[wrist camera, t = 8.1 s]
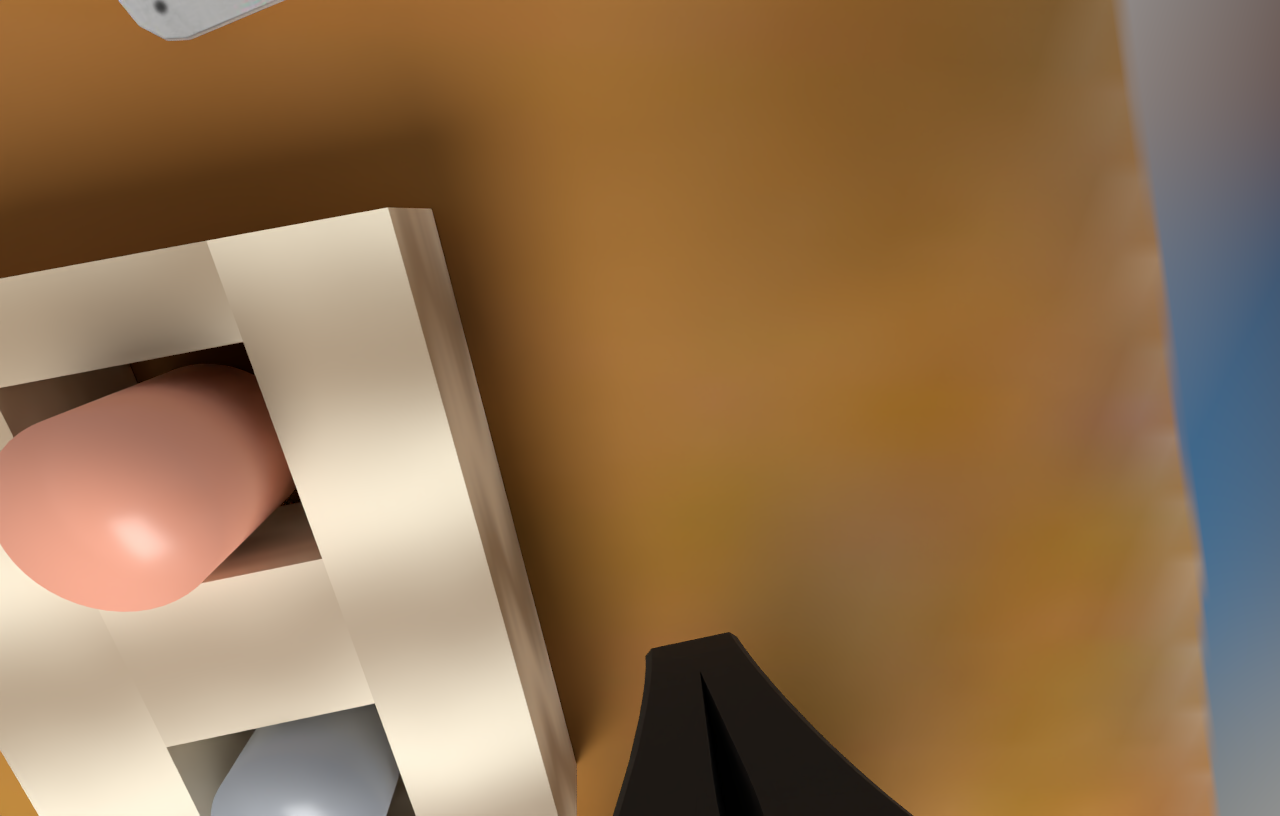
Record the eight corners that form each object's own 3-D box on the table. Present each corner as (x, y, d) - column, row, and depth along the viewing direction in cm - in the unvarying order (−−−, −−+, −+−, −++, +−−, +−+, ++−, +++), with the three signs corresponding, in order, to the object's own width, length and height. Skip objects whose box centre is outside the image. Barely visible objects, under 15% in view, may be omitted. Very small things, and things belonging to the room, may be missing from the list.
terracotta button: (328, 502, 17) (254, 588, 13) (169, 533, 16) (45, 630, 13) (274, 348, 15) (175, 393, 12) (102, 381, 15) (-56, 437, 11)
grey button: (434, 741, 21) (402, 861, 17) (307, 768, 20) (245, 896, 17) (398, 634, 19) (355, 737, 16) (262, 662, 19) (184, 774, 15)
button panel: (576, 765, 22) (576, 881, 18) (214, 843, 21) (136, 980, 18) (431, 208, 17) (387, 207, 13) (-54, 298, 16) (-250, 324, 12)
